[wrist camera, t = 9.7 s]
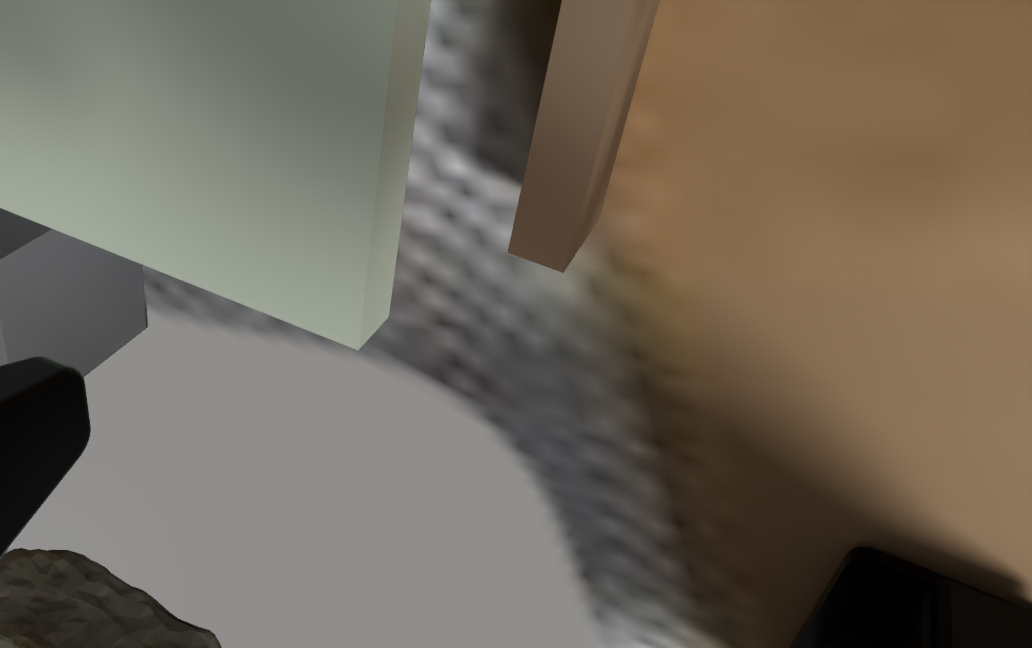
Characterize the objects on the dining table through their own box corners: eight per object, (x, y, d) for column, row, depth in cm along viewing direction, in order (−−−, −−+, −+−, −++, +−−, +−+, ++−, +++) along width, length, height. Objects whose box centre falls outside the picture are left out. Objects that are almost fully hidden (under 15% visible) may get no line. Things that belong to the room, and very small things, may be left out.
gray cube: (147, 326, 28) (19, 426, 24) (9, 270, 29) (-137, 358, 25) (138, 178, 25) (-10, 264, 21) (-16, 120, 26) (-186, 193, 22)
